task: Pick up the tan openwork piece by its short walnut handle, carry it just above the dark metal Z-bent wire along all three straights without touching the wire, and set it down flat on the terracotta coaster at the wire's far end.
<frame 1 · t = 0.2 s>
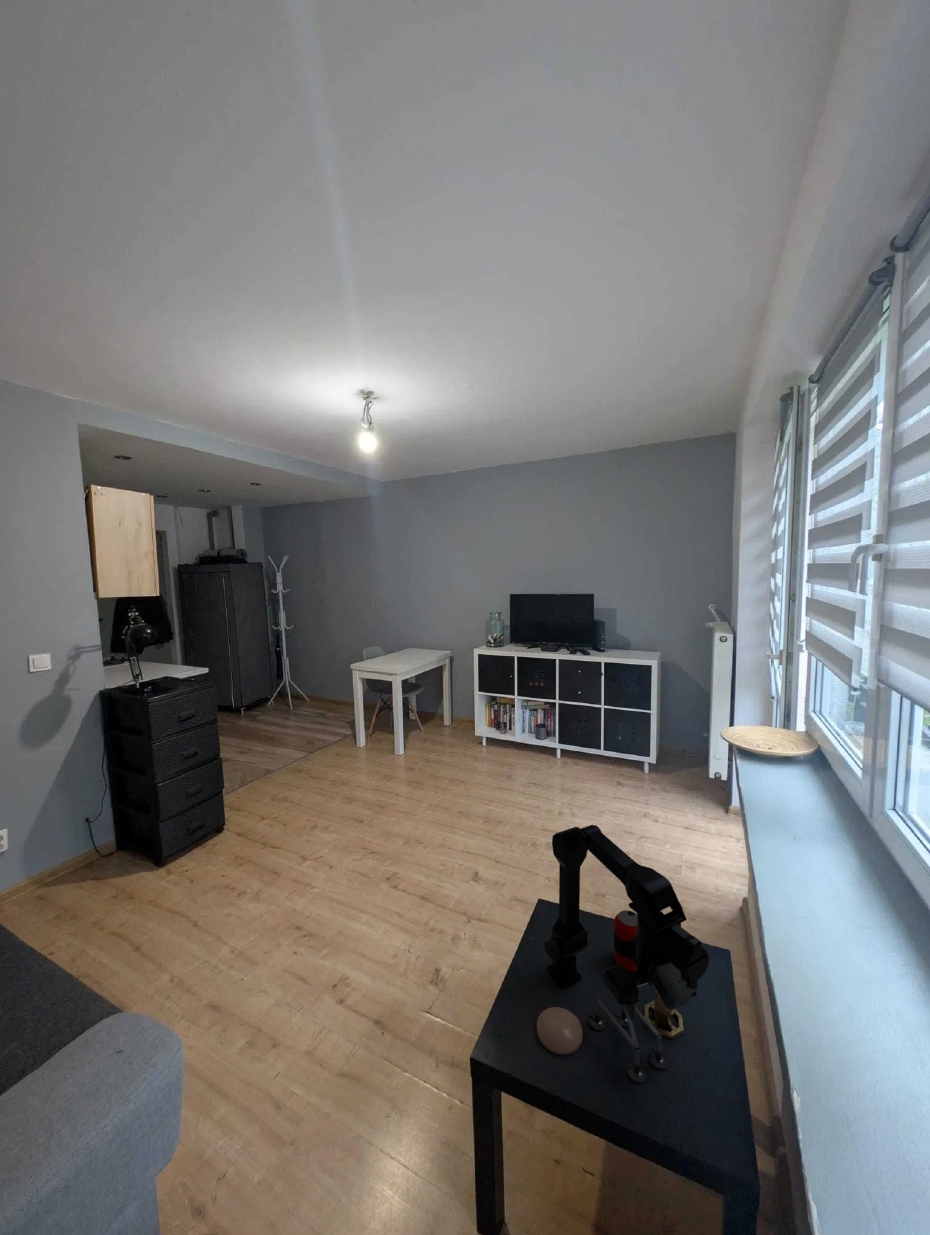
hand: (650, 1012, 93), 14 cm above the table, fingers open, 9 cm apart
coaster: (559, 1031, 104), on the table
buzz wire: (626, 1040, 102), on the table
soda can: (628, 961, 123), on the table
tan openwork piece: (663, 1020, 106), on the table
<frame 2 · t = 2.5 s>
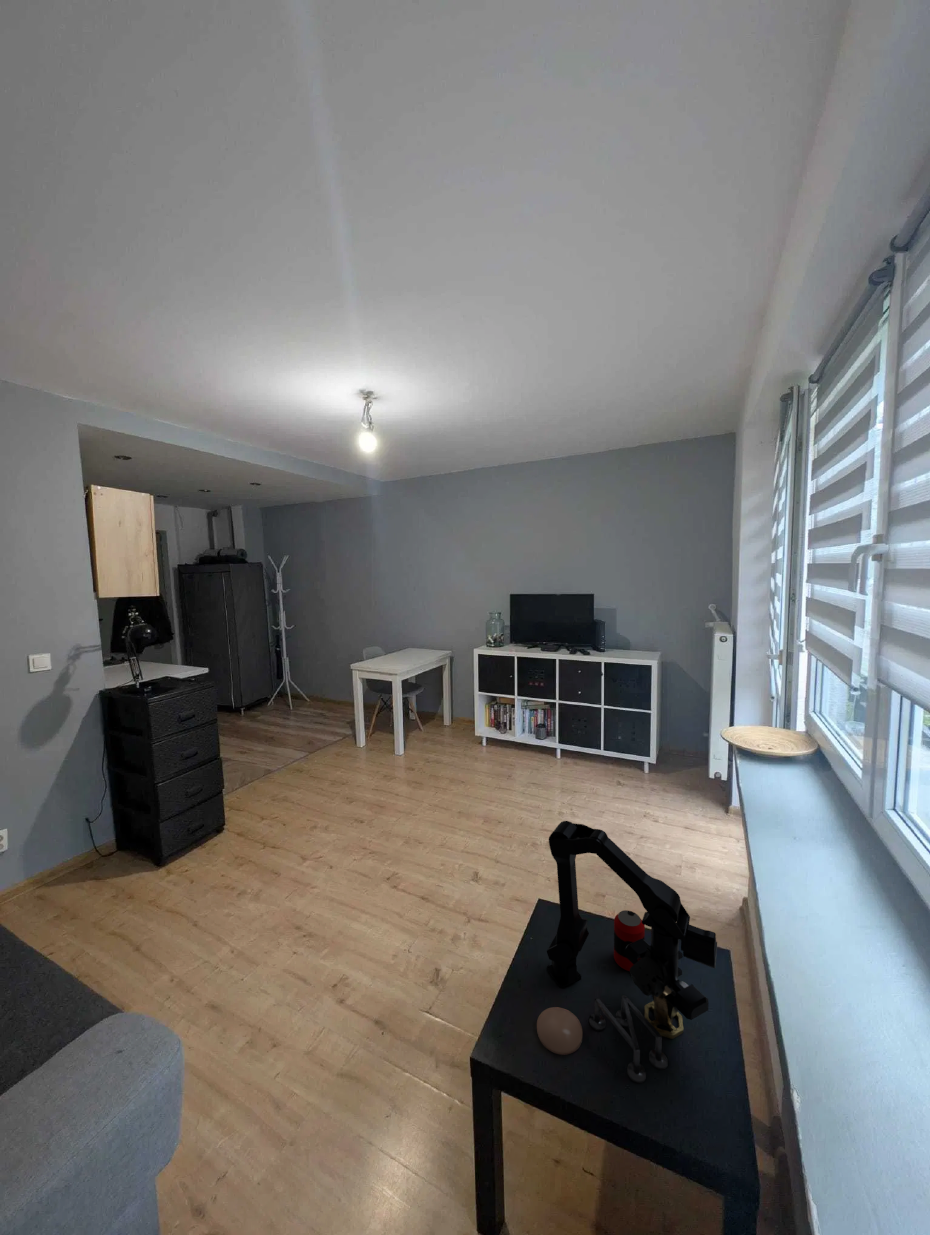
hand: (663, 1009, 106), 3 cm above the table, fingers closed on tan openwork piece, 4 cm apart
tan openwork piece: (663, 1020, 106), on the table, touching gripper
everything else where it was.
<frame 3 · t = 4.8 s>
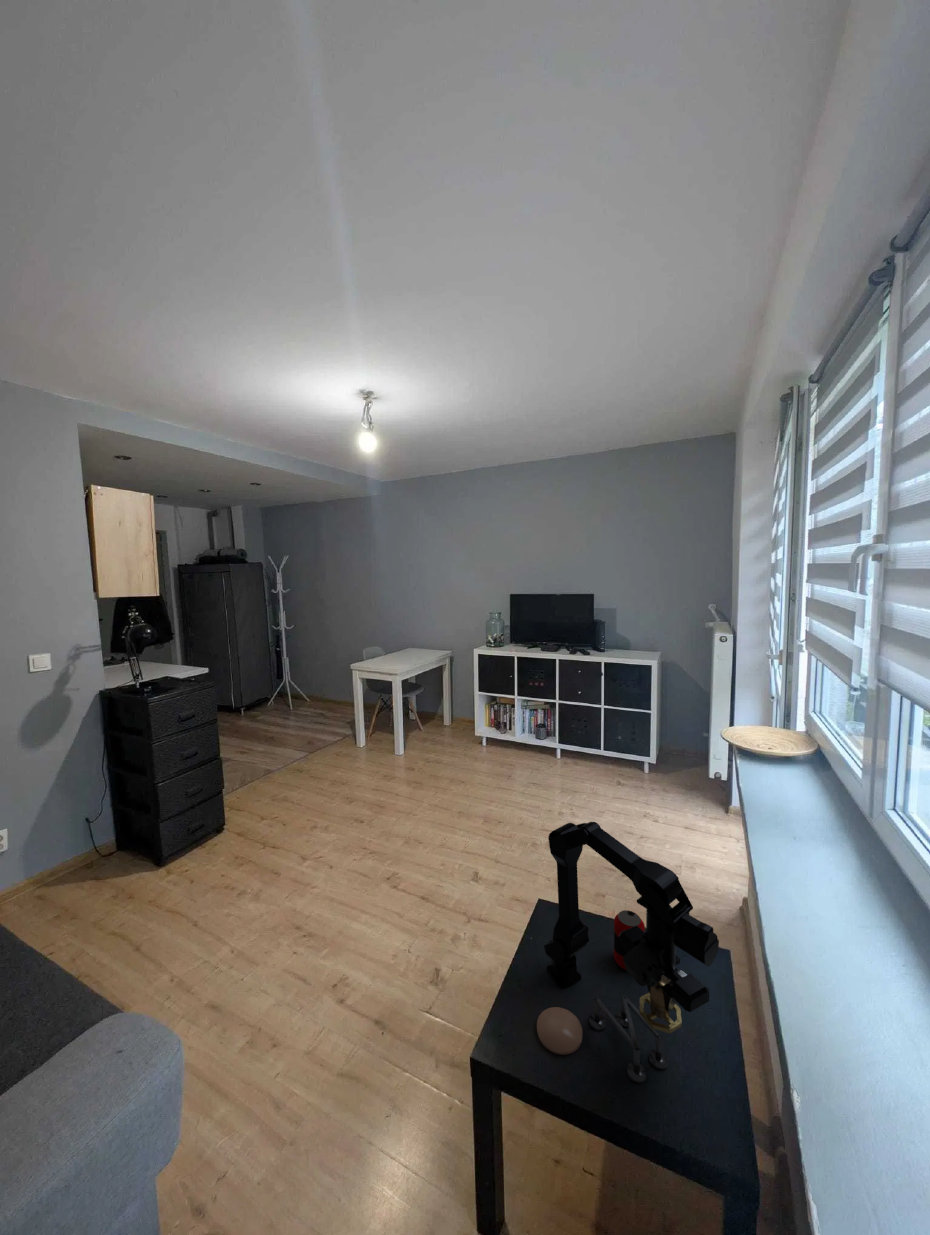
hand: (660, 1001, 97), 13 cm above the table, fingers closed on tan openwork piece, 4 cm apart
tan openwork piece: (660, 1013, 97), point 10 cm above the table, touching gripper
everything else where it was.
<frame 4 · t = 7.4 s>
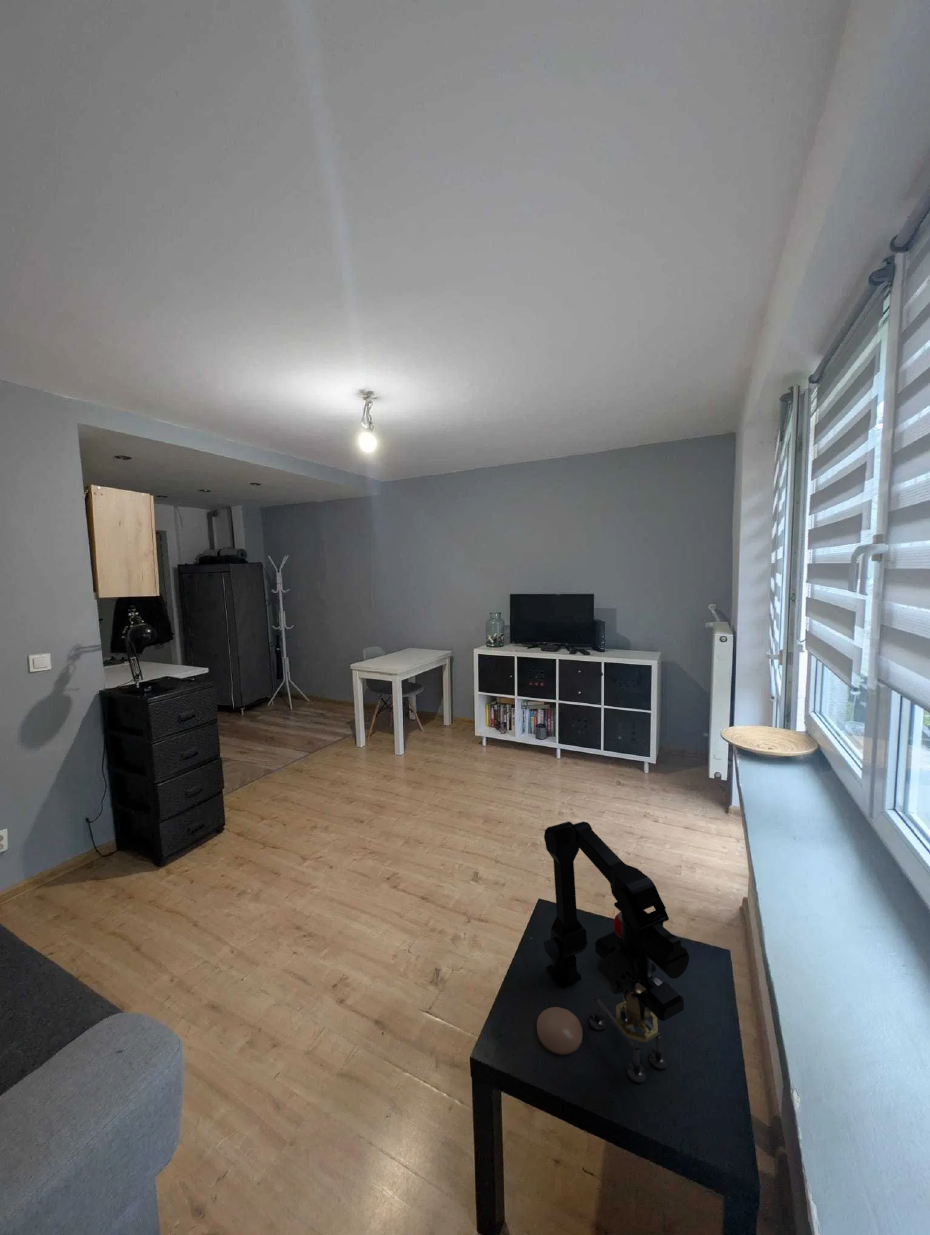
hand: (636, 1010, 95), 13 cm above the table, fingers closed on tan openwork piece, 4 cm apart
tan openwork piece: (636, 1021, 95), point 10 cm above the table, touching gripper
everything else where it was.
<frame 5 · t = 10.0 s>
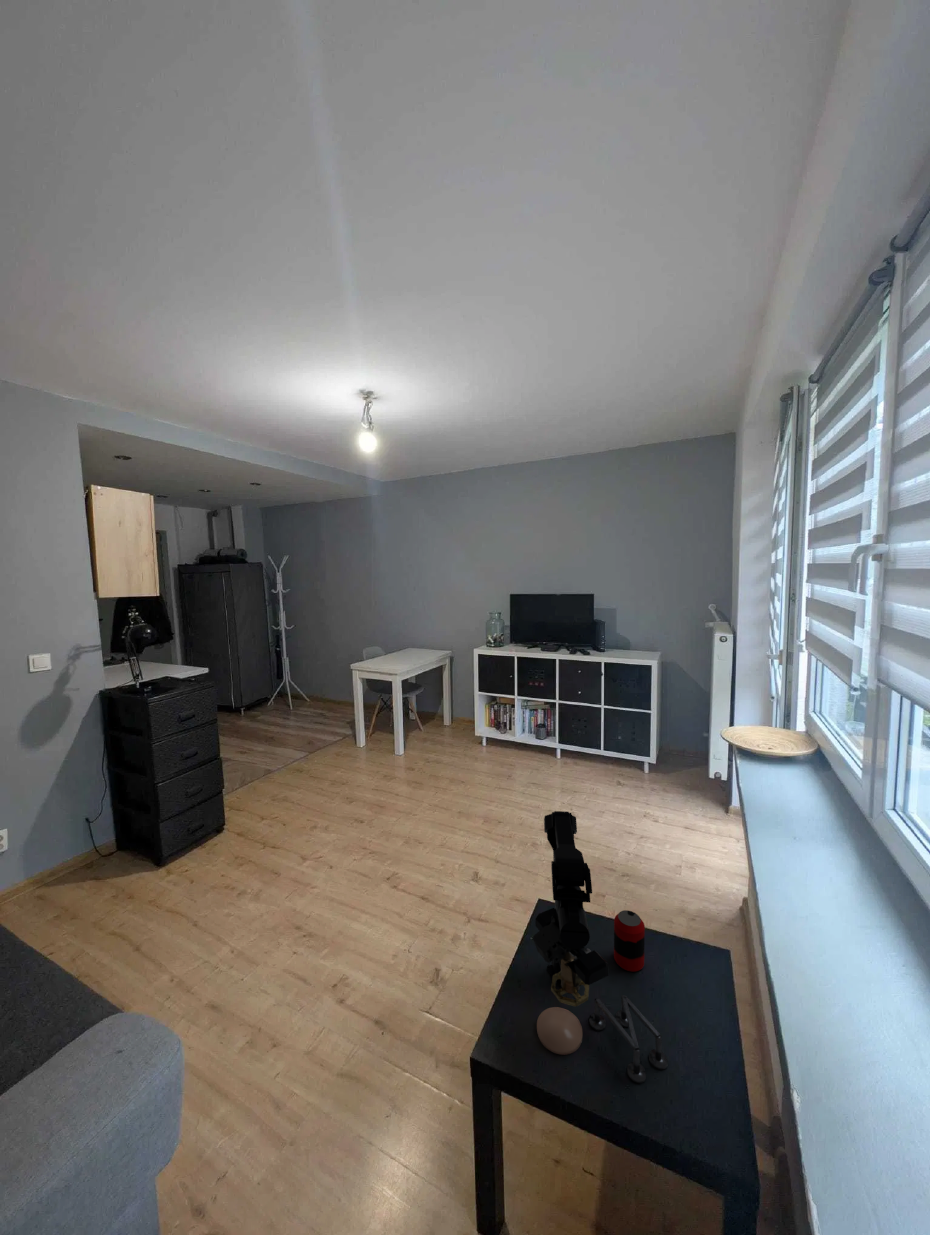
hand: (569, 978, 103), 13 cm above the table, fingers closed on tan openwork piece, 4 cm apart
tan openwork piece: (570, 988, 104), point 10 cm above the table, touching gripper
everything else where it was.
when the fingers open (5 cm above the table, at t = 12.4 s): tan openwork piece drops 2 cm, resting on coaster.
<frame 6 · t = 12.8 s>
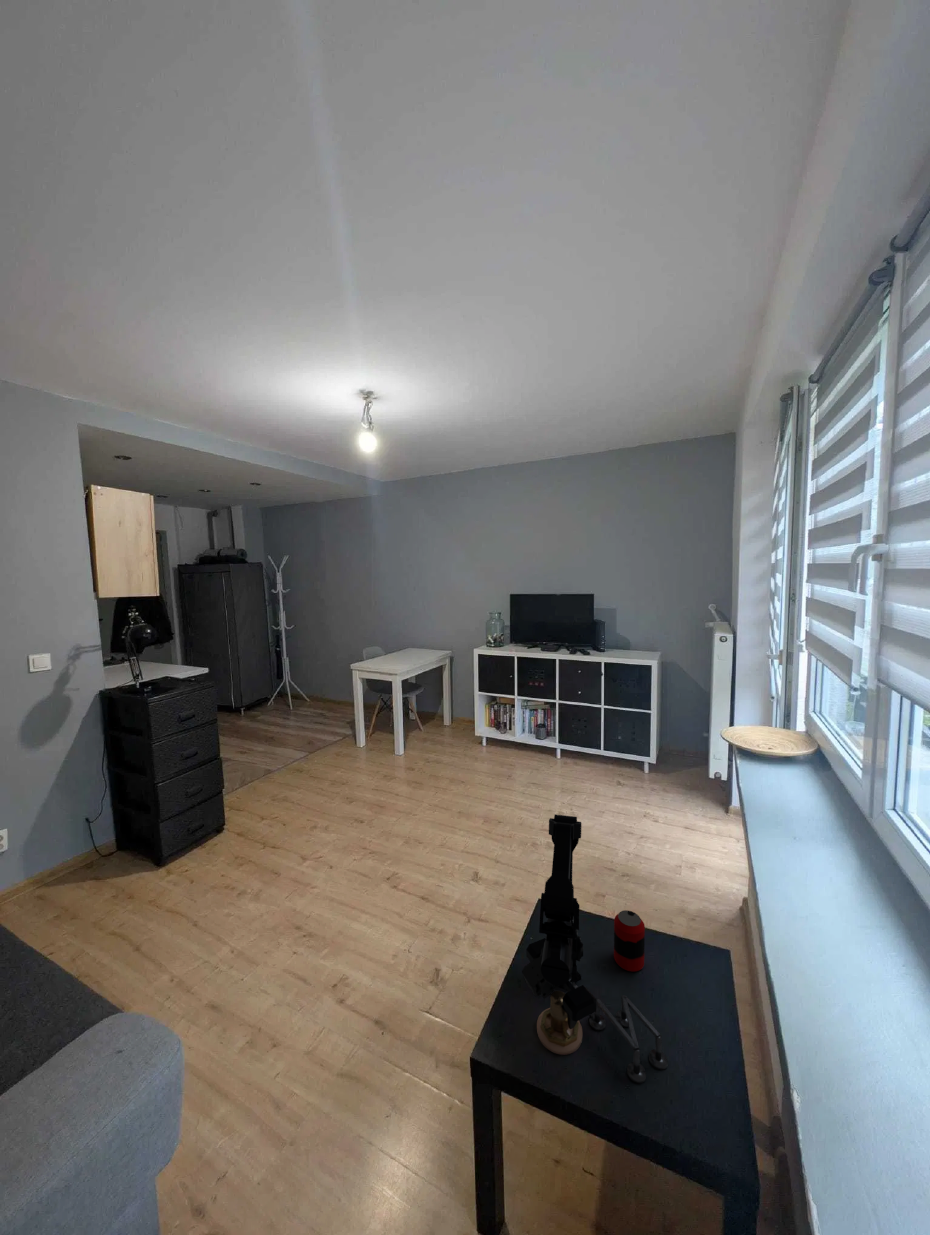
hand: (559, 1010, 104), 5 cm above the table, fingers open, 8 cm apart
tan openwork piece: (559, 1027, 104), point 1 cm above the table, touching coaster
everything else where it was.
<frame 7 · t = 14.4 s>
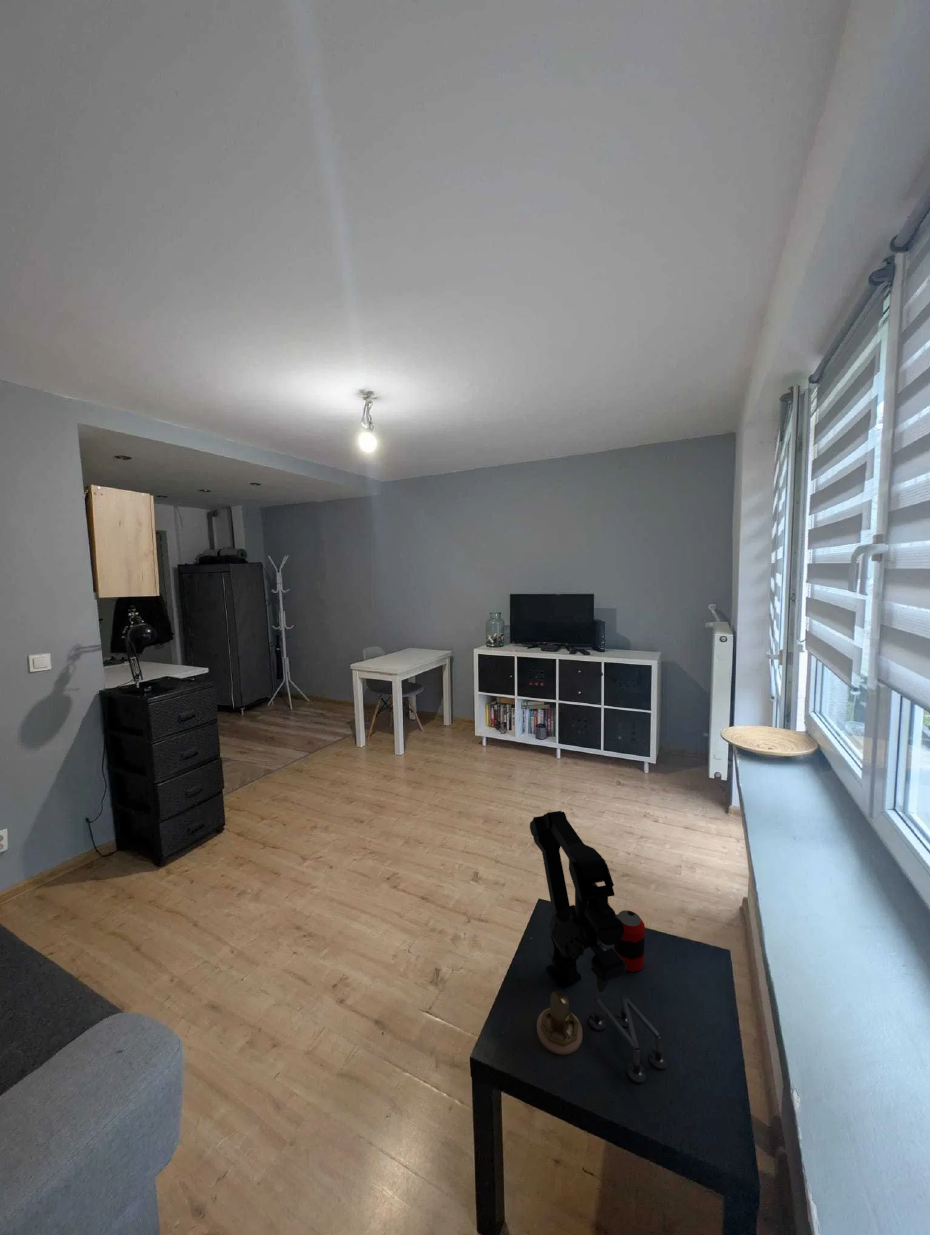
hand: (587, 974, 105), 12 cm above the table, fingers open, 9 cm apart
nothing on the table moved.
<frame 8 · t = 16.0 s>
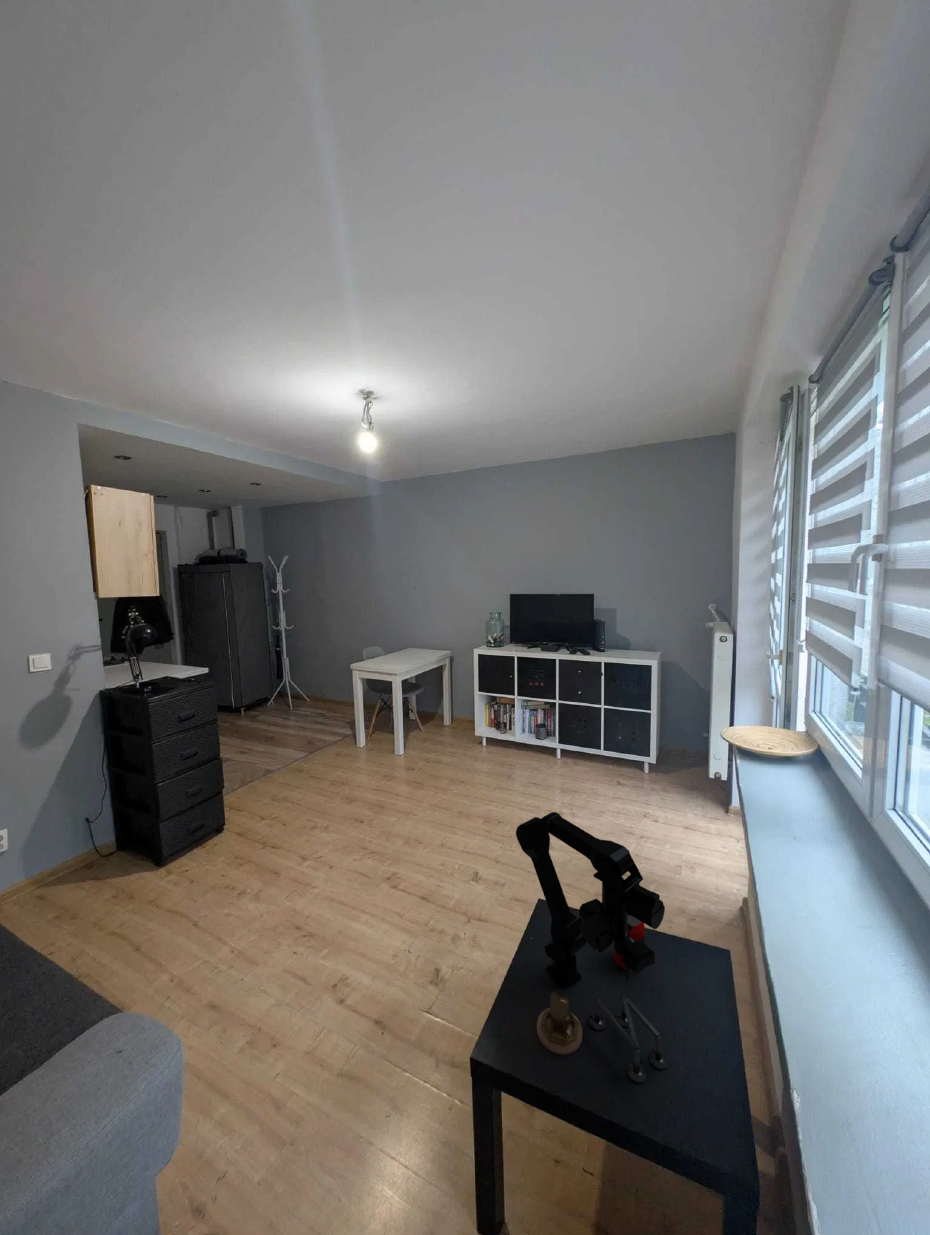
hand: (614, 966, 107), 12 cm above the table, fingers open, 9 cm apart
nothing on the table moved.
at the end: tan openwork piece 0.1 cm off-centre on the coaster, point 1.0 cm above the coaster's base; tan openwork piece tilted 0°; tan openwork piece touching coaster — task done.
